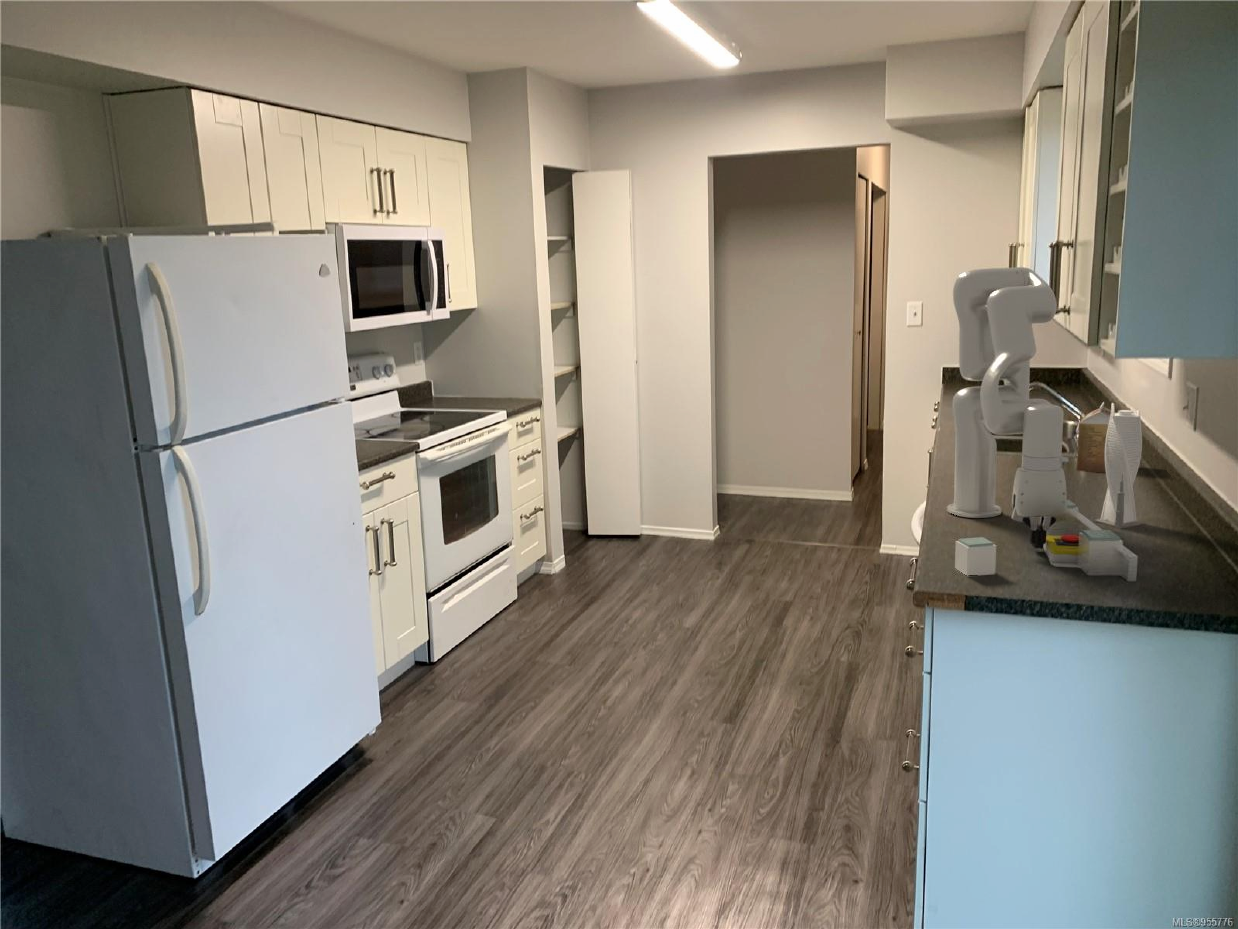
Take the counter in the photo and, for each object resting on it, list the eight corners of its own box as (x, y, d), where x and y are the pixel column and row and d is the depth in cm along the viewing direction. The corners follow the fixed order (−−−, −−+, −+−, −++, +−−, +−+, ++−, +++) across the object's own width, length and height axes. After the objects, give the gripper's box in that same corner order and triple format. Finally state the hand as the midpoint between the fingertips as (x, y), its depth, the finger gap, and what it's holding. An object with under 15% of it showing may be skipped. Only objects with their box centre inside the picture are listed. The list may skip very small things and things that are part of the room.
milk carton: (1117, 473, 260) (1121, 407, 256) (1076, 470, 265) (1080, 406, 262) (1120, 465, 269) (1124, 402, 265) (1080, 463, 274) (1083, 401, 270)
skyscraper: (1089, 520, 215) (1096, 403, 209) (1115, 515, 218) (1122, 400, 212) (1119, 528, 207) (1127, 407, 202) (1146, 524, 210) (1154, 404, 204)
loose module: (954, 569, 186) (955, 538, 185) (982, 566, 187) (983, 536, 185) (966, 576, 181) (967, 545, 180) (995, 574, 182) (996, 543, 180)
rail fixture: (1035, 527, 212) (1037, 495, 210) (1069, 527, 210) (1071, 495, 209) (1094, 581, 175) (1096, 543, 173) (1136, 581, 174) (1138, 543, 172)
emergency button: (1089, 529, 195) (1103, 550, 181) (1088, 548, 196) (1102, 570, 182) (1042, 527, 198) (1052, 548, 184) (1041, 547, 199) (1051, 568, 185)
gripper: (1073, 459, 192) (1068, 541, 196) (999, 460, 195) (996, 541, 199) (1085, 466, 185) (1080, 552, 189) (1008, 467, 188) (1004, 552, 191)
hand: (1037, 546), depth 194 cm, fingers closed
